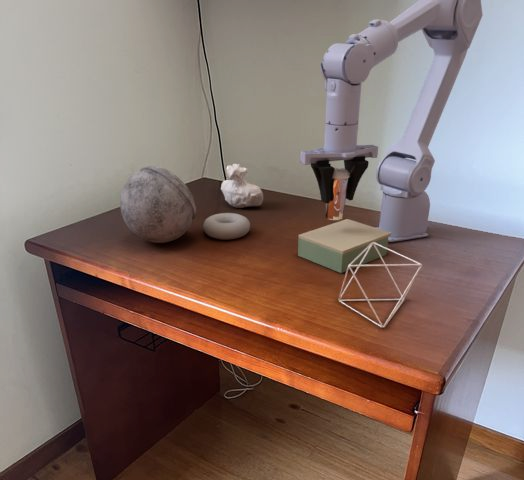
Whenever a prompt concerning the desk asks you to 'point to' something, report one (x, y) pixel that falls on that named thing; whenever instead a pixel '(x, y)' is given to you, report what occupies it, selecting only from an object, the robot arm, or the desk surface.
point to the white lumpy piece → (240, 188)
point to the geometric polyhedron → (391, 277)
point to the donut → (226, 226)
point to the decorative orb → (157, 205)
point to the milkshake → (338, 194)
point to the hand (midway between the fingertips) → (336, 200)
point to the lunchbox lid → (344, 236)
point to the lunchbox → (339, 255)
